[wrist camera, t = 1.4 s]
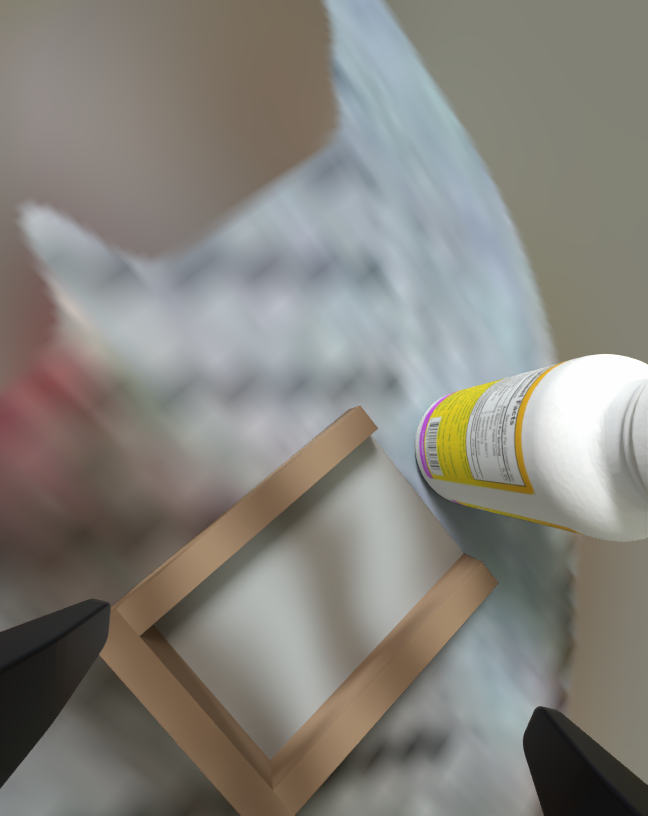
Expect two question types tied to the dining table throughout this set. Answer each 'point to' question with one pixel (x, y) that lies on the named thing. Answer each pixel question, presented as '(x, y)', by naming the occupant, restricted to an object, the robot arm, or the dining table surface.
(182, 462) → the dining table surface
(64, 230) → the dining table surface
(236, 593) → the open-ended tray
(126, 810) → the dining table surface
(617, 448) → the supplement bottle
